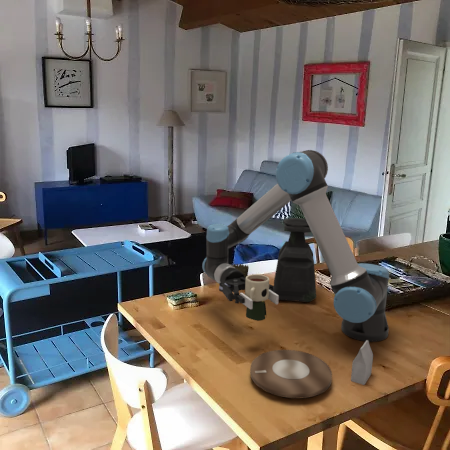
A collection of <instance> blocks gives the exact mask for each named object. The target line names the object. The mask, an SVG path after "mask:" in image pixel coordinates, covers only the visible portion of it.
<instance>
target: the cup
mask: <svg viewBox="0 0 450 450" xmlns="http://www.w3.org/2000/svg"><path fill="white" fill-rule="evenodd" d="M230 265H231V264H230ZM231 266H233V267H235V268H236V269H237V270H239V271H241V272H242V273H243V275H244V277H245V278H246V276H248V275H249V265H246V264H245V265H244V264H243V263H242V264H241V263H240V264H238V263H237V264H232V265H231Z"/></svg>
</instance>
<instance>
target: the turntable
mask: <svg viewBox="0 0 450 450" xmlns="http://www.w3.org/2000/svg"><path fill="white" fill-rule="evenodd" d="M249 372H250V374H249V375H250V378H251V380H252V381H253V383H254V384H255V385H256V386H257V387H258V388H260V389H261V390H263V391H265V392H266V393H268V394H271V395H274V396H277V397H283V398H289V399H306V398H311V397H315V396H319V395H321V394H323V393H324V392H326V391H327V390H329V388H330V386H331V385H332V379H333V373H332V370H331V367H330V365H328V363H326V362H325V361H324V360H323V359H321V358H320V357H318V356H317V355H313V354H311V353H308V352H305V351H301V350H295V349H276V350H275V349H274V350H269V351H266V352H263V353H261V354H259V355H258V356H256V357H255V358H253V360H252V361H251V363H250V371H249Z"/></svg>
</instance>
